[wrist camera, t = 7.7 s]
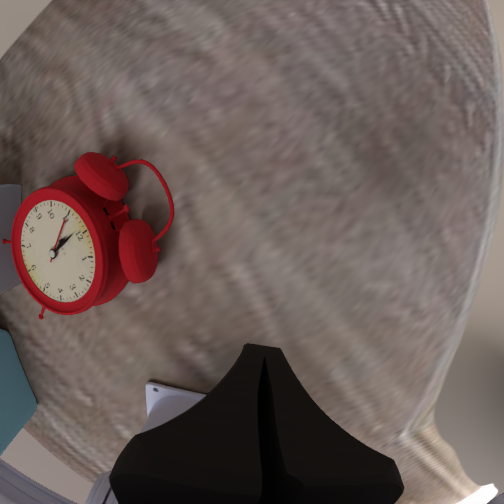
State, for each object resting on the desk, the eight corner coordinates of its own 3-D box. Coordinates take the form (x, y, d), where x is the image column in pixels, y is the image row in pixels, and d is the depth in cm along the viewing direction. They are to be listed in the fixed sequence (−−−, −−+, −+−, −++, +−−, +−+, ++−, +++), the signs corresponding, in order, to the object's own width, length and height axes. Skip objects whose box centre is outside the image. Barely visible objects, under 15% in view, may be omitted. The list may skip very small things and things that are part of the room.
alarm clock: (-11, 229, 18) (78, 112, 12) (39, 210, 23) (144, 114, 18) (43, 340, 20) (165, 295, 14) (87, 306, 25) (212, 251, 20)
